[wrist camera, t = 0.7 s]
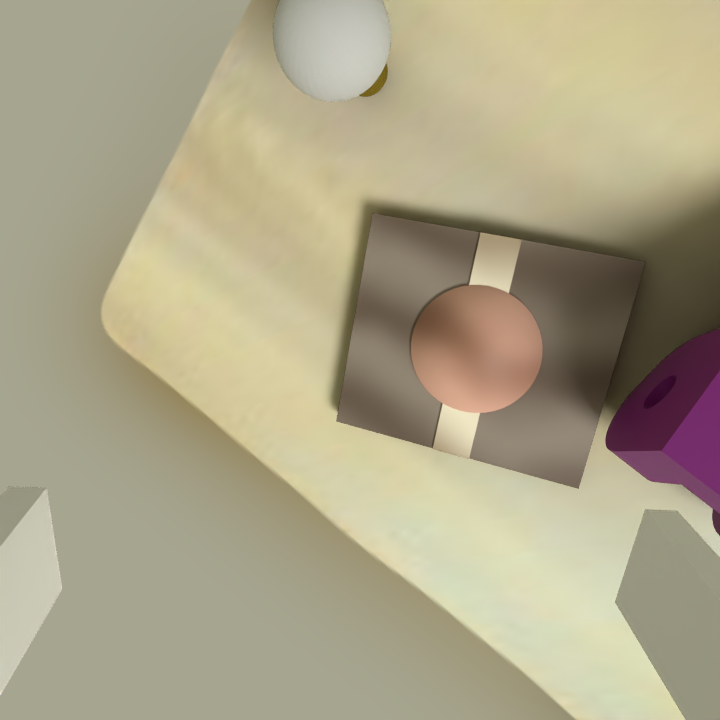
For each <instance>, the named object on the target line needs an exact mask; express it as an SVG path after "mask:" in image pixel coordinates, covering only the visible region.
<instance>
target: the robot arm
mask: <svg viewBox="0 0 720 720" xmlns="http://www.w3.org/2000/svg"><path fill="white" fill-rule="evenodd" d="M61 590H62V584H61V578H60V571H59V565H58V558H57V552H56V546H55V539H54V532H53V527H52V520H51V514H50V507H49V500H48V494H47V488H36V487H10V486H9V487H8V488H7V489H6V490H5V491H4V492H3V493H2V494H1V496H0V695H1V693H2V692H3V690H4V688H5V687H6V685H7V683H8V681H9V680H10V678H11V676H12V674H13V673H14V671H15V669H16V668H17V666H18V664H19V663H20V661H21V659H22V657H23V656H24V654H25V652H26V650H27V649H28V647H29V645H30V644H31V642H32V640H33V638H34V636H35V635H36V633H37V632H38V630H39V628H40V626H41V625H42V623H43V621H44V619H45V618H46V616H47V614H48V613H49V611H50V609H51V608H52V606H53V604H54V602H55V601H56V599H57V597H58V595H59V594H60V592H61ZM615 603H616V605H617V606H618V608H619V610H620V611H621V613H622V615H623V616H624V618H625V620H626V621H627V623H628V625H629V626H630V628H631V630H632V631H633V633H634V635H635V636H636V638H637V640H638V641H639V643H640V645H641V646H642V648H643V650H644V651H645V653H646V655H647V656H648V658H649V660H650V661H651V663H652V665H653V666H654V668H655V670H656V671H657V673H658V675H659V676H660V678H661V680H662V681H663V683H664V685H665V686H666V688H667V690H668V691H669V693H670V695H671V696H672V698H673V700H674V701H675V703H676V705H677V706H678V708H679V710H680V711H681V713H682V715H683V716H684V718H685V720H720V557H719V556H718V555H717V554H716V553H715V552H714V551H713V550H712V549H711V548H710V546H709V545H708V544H707V543H706V542H705V541H704V540H703V539H702V538H701V536H700V535H699V534H698V533H697V532H696V531H695V530H694V529H693V528H692V527H691V525H690V524H689V523H688V522H687V521H686V520H685V519H684V518H683V517H682V516H681V514H680V513H679V512H678V511H670V510H645V511H644V514H643V517H642V521H641V524H640V527H639V530H638V533H637V536H636V539H635V542H634V545H633V548H632V551H631V554H630V557H629V561H628V564H627V567H626V570H625V573H624V576H623V579H622V582H621V585H620V588H619V591H618V594H617V597H616V600H615Z"/></svg>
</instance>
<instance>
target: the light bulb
mask: <svg viewBox="0 0 720 720" xmlns="http://www.w3.org/2000/svg"><path fill="white" fill-rule="evenodd" d="M273 42H274V48H275V52H276V56H277V59H278V61H279V64H280V66H281V68H282V70H283V71H284V73H285V75H286V76H287V78H288V79H289V80H290V81H291V82H292V83H293V85H294V86H295V87H297V88H298V89H299V90H300V91H302V92H303V93H305V94H306V95H308V96H310V97H312V98H315V99H317V100H320V101H326V102H341V101H346V100H350V99H352V98H355V97H357V96H363V97H367V96H371V95H374V94H376V93H377V92H378V91H379V90H380V89H381V88H382V87H383V85H384V84H385V82H386V79H387V72H388V70H387V64H386V62H387V59H388V56H389V51H390V45H391V29H390V21H389V17H388V13H387V10H386V8H385V5H384V3H383V1H382V0H280V1H279V4H278V6H277V9H276V13H275V16H274V23H273Z"/></svg>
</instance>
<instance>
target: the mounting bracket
mask: <svg viewBox="0 0 720 720" xmlns="http://www.w3.org/2000/svg"><path fill="white" fill-rule="evenodd" d="M606 447H607V448H608V449H609V450H610V451H611V452H613V453H614V454H615V455H617V456H618V457H619V458H620V459H622V460H623V461H624V462H626V463H627V464H628V465H629V466H631V467H632V468H633V469H635V470H636V471H637V472H638V473H640V474H641V475H642V476H644V477H645V478H646V479H647V480H649V481H653V482H661V483H671V484H681V485H683V486H684V487H686V488H687V489H688V490H689V491H691V492H692V493H693V494H695V495H696V496H697V497H699V498H700V499H701V500H702V501H704V502H705V503H706V504H708V505H709V506H710V507H711V508H713V513H712V520H713V525H714V528H715V530H716V532H717V533H718V534H719V535H720V328H719V329H717V330H714V331H711V332H708V333H705V334H703V335H700V336H698V337H696V338H694V339H692V340H690V341H688V342H686V343H685V344H683V345H682V346H680V347H679V348H677V349H676V350H675V351H673V352H672V353H671V354H669V355H668V356H667V357H666V358H664V359H663V360H662V361H661V362H660V363H659V364H658V365H657V366H656V368H655V369H654V370H653V371H652V372H651V373H650V374H649V375H648V376H647V377H646V378H645V379H644V380H643V381H642V382H641V383H640V384H639V385H638V386H637V387H636V388H635V389H634V390H633V391H632V392H631V393H630V394H629V396H628V397H627V398H626V400H625V401H624V402H623V404H622V405H621V407H620V408H619V410H618V411H617V413H616V414H615V416H614V418H613V420H612V422H611V424H610V426H609V428H608V431H607V434H606Z"/></svg>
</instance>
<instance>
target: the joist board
mask: <svg viewBox="0 0 720 720" xmlns="http://www.w3.org/2000/svg"><path fill="white" fill-rule="evenodd" d="M644 266H645V262H644V261H639V260H633V259H627V258H622V257H616V256H611V255H605V254H599V253H594V252H588V251H583V250H577V249H571V248H566V247H560V246H554V245H549V244H543V243H538V242H532V241H526V240H521V239H515V238H510V237H504V236H498V235H493V234H487V233H481V232H476V231H470V230H464V229H459V228H453V227H448V226H442V225H436V224H431V223H425V222H420V221H414V220H408V219H403V218H397V217H391V216H386V215H380V214H375V213H373V215H372V220H371V226H370V232H369V237H368V243H367V249H366V255H365V260H364V266H363V272H362V277H361V283H360V289H359V295H358V300H357V306H356V312H355V317H354V323H353V329H352V335H351V340H350V346H349V352H348V357H347V363H346V369H345V375H344V380H343V386H342V392H341V397H340V403H339V409H338V415H337V420H336V421H337V422H341V423H344V424H348V425H352V426H355V427H359V428H362V429H366V430H369V431H373V432H377V433H380V434H384V435H387V436H391V437H395V438H398V439H402V440H405V441H409V442H413V443H416V444H420V445H423V446H427V447H431V448H433V449H435V450H438V451H442V452H446V453H449V454H453V455H456V456H460V457H464V458H467V459H469V458H470V459H474V460H477V461H481V462H484V463H488V464H492V465H495V466H499V467H502V468H506V469H510V470H513V471H517V472H520V473H524V474H528V475H531V476H535V477H538V478H542V479H546V480H549V481H553V482H556V483H560V484H563V485H567V486H571V487H574V488H578V489H579V485H580V482H581V478H582V475H583V472H584V468H585V465H586V462H587V458H588V455H589V451H590V448H591V445H592V441H593V438H594V435H595V431H596V428H597V424H598V421H599V418H600V414H601V411H602V407H603V404H604V401H605V397H606V394H607V391H608V387H609V384H610V380H611V377H612V374H613V370H614V367H615V364H616V360H617V357H618V353H619V350H620V347H621V343H622V340H623V337H624V333H625V330H626V326H627V323H628V320H629V316H630V313H631V309H632V306H633V303H634V299H635V296H636V293H637V289H638V286H639V282H640V279H641V276H642V272H643V269H644Z"/></svg>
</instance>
